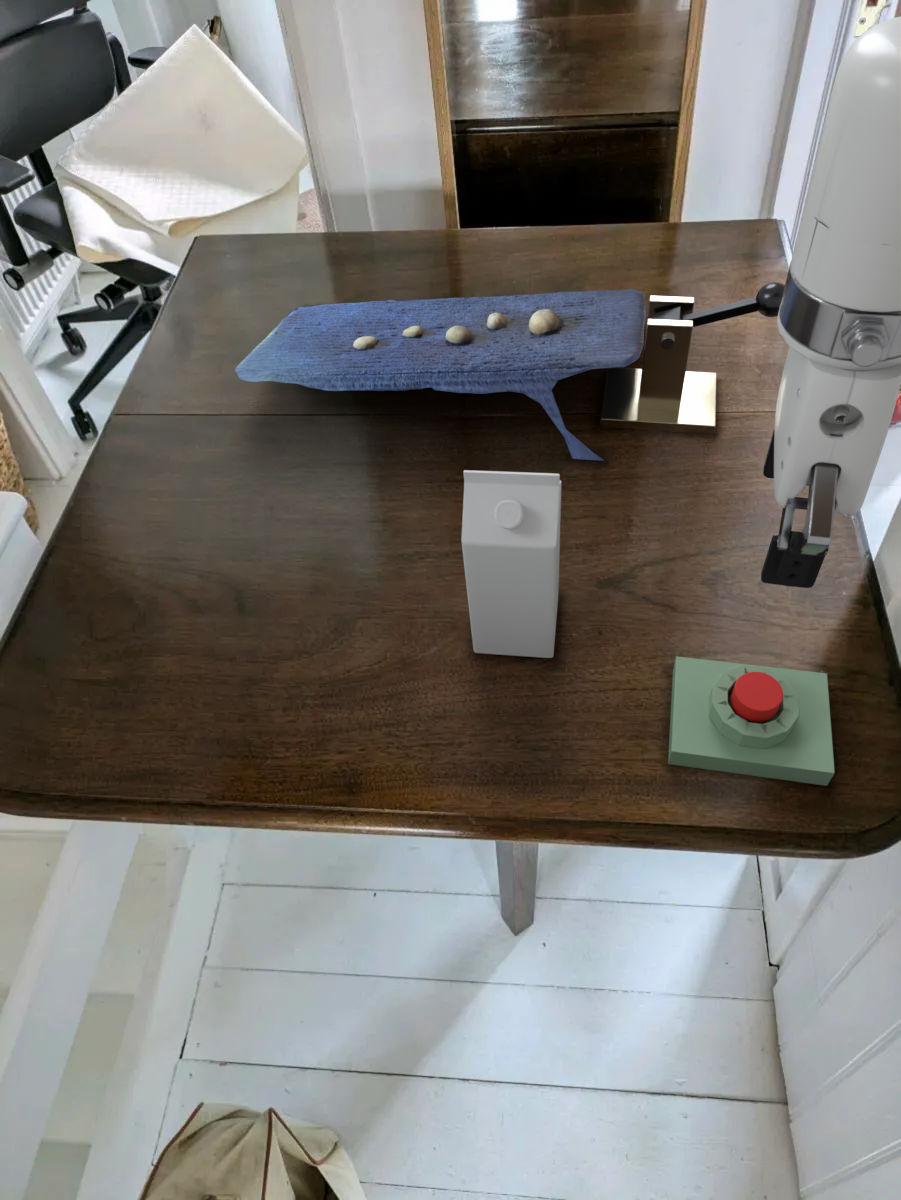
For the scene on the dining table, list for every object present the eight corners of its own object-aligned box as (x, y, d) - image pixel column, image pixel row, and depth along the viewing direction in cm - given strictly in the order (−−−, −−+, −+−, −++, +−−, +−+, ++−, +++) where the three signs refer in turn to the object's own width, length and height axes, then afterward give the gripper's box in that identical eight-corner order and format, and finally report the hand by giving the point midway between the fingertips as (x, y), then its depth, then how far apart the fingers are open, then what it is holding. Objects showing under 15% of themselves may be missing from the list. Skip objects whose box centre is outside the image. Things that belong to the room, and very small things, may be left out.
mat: (241, 466, 97) (214, 369, 90) (312, 375, 119) (295, 291, 112) (644, 460, 88) (648, 351, 81) (642, 362, 110) (644, 270, 103)
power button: (777, 685, 67) (782, 674, 66) (779, 725, 65) (784, 714, 64) (730, 680, 68) (734, 668, 67) (730, 719, 66) (734, 708, 65)
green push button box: (820, 687, 71) (833, 661, 68) (827, 786, 66) (841, 762, 63) (672, 670, 73) (678, 643, 70) (668, 764, 68) (674, 740, 65)
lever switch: (792, 299, 83) (787, 271, 81) (793, 319, 81) (789, 290, 79) (659, 332, 89) (652, 307, 87) (658, 351, 87) (650, 325, 85)
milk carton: (482, 591, 80) (469, 438, 65) (558, 596, 79) (562, 441, 64) (473, 654, 76) (457, 505, 61) (553, 659, 75) (556, 510, 60)
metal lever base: (714, 381, 96) (733, 287, 87) (713, 434, 91) (733, 340, 81) (607, 375, 98) (614, 282, 89) (600, 427, 93) (606, 334, 83)
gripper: (957, 418, 38) (850, 637, 52) (921, 218, 48) (840, 445, 62) (781, 405, 40) (722, 621, 53) (782, 214, 50) (732, 436, 63)
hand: (786, 526), depth 57 cm, fingers open, 9 cm apart
